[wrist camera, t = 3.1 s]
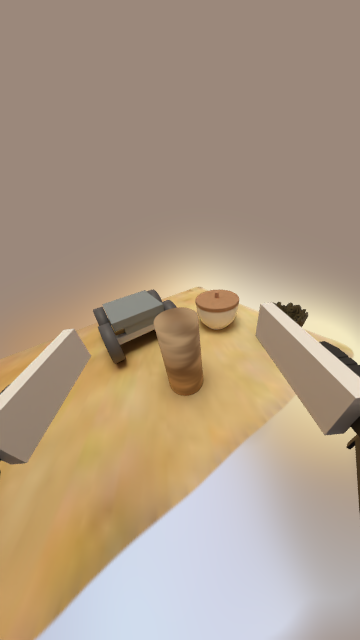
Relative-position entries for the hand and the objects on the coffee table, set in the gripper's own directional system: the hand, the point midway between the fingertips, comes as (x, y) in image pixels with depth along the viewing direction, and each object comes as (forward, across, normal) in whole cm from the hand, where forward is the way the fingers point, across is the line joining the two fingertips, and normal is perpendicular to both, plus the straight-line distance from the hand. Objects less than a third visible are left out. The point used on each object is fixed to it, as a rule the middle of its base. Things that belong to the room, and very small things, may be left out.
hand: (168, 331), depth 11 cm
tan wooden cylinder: (+10, 0, -19) cm, 22 cm away
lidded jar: (+27, +10, -19) cm, 35 cm away
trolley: (+26, -12, -19) cm, 34 cm away
